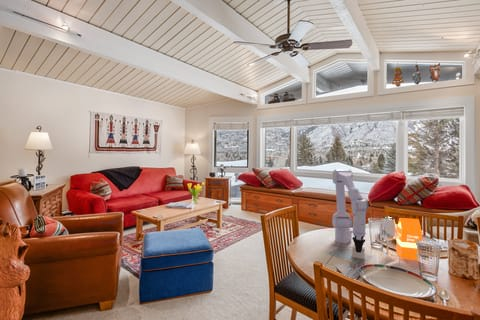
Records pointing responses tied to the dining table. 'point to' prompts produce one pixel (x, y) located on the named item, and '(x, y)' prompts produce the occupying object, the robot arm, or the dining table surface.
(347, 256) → the shaft base
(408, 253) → the orange juice
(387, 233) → the wineglass
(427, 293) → the dining table surface
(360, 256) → the white piece
